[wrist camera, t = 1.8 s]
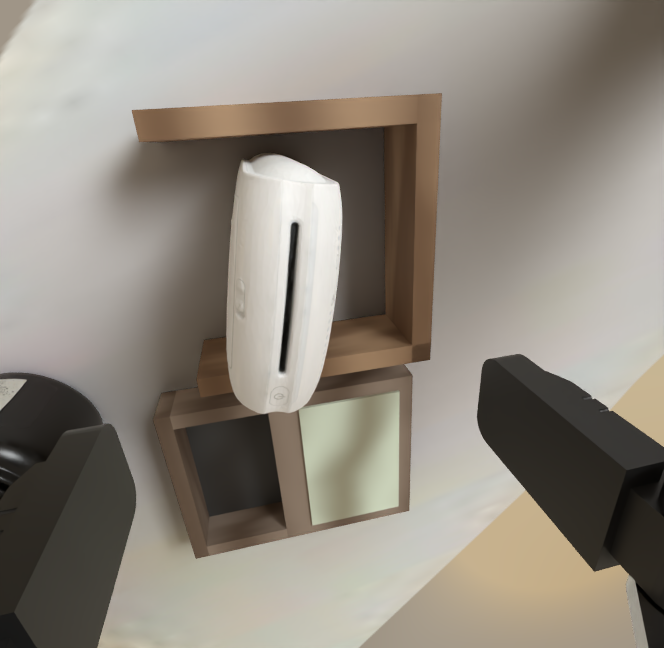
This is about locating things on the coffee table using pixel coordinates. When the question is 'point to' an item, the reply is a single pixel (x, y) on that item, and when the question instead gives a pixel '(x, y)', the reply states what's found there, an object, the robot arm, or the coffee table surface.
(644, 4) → the coffee table surface
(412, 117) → the wooden cubby shelf
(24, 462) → the ink bottle
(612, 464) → the robot arm
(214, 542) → the two-compartment wooden organizer
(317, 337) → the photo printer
